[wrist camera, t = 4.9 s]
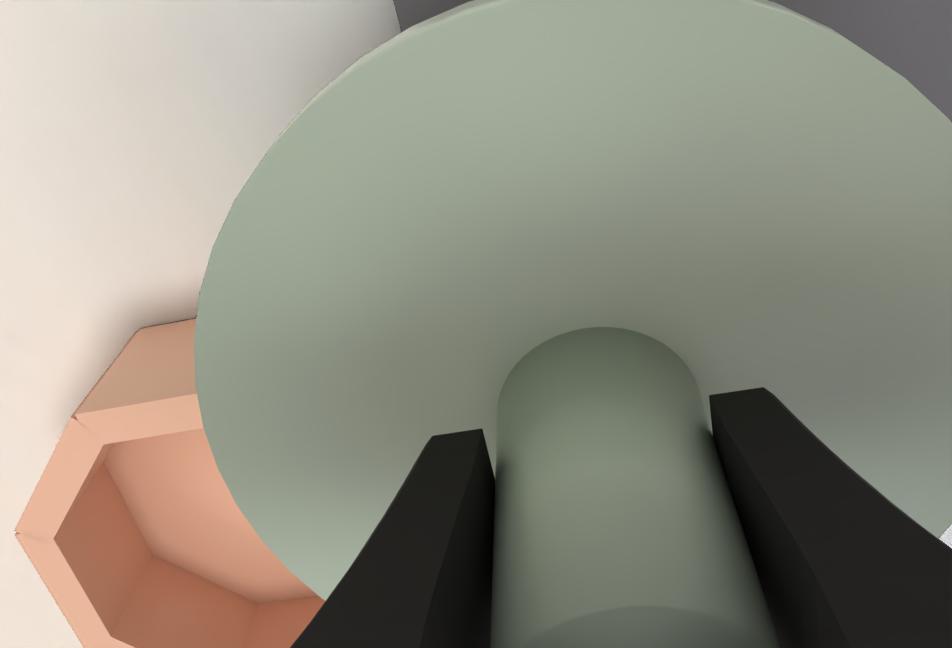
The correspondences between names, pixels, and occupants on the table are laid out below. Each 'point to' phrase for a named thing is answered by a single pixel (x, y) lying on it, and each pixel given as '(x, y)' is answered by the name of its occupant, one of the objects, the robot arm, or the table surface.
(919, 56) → the mat
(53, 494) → the bowl
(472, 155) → the lid
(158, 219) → the table surface
